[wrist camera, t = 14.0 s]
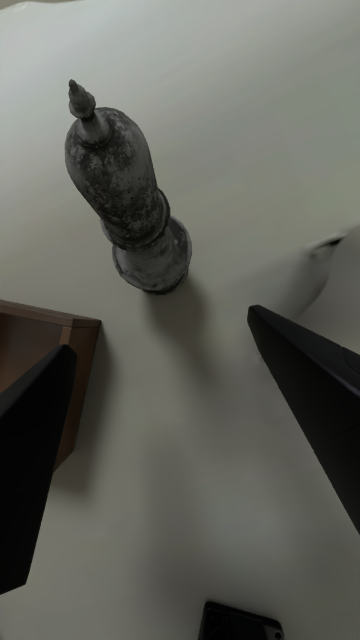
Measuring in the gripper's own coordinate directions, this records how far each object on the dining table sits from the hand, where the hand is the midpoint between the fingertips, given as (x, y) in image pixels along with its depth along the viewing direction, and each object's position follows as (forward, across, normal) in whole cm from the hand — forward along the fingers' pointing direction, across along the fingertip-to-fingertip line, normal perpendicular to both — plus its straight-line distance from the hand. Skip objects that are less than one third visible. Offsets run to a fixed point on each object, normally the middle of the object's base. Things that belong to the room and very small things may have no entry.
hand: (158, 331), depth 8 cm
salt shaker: (+10, 0, +1) cm, 10 cm away
